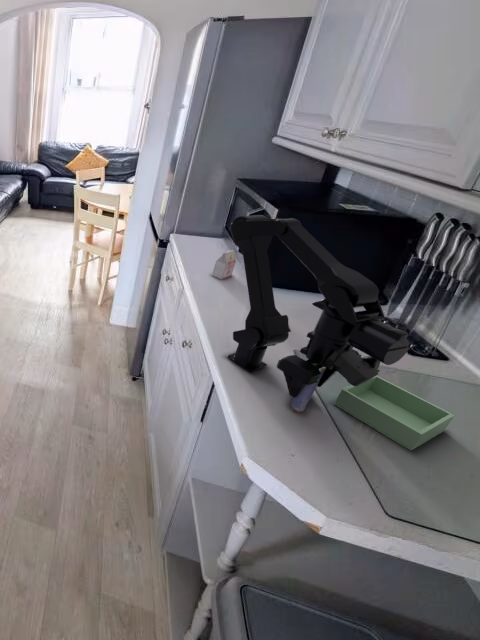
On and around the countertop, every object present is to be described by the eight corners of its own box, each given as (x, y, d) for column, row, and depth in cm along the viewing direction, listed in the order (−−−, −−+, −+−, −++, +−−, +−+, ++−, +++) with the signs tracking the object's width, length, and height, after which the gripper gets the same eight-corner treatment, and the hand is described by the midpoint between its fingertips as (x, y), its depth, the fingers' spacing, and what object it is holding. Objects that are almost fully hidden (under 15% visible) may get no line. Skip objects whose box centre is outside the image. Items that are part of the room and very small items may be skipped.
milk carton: (211, 275, 149) (218, 251, 144) (221, 271, 152) (229, 247, 148) (221, 279, 146) (229, 254, 142) (231, 275, 149) (239, 251, 145)
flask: (301, 415, 86) (320, 376, 82) (285, 407, 88) (302, 369, 84) (313, 396, 91) (330, 359, 87) (297, 389, 94) (314, 352, 89)
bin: (410, 450, 78) (421, 434, 76) (333, 404, 89) (341, 389, 87) (443, 431, 83) (455, 415, 81) (366, 389, 94) (375, 374, 92)
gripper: (352, 368, 72) (320, 430, 79) (406, 346, 79) (372, 404, 85) (287, 335, 82) (263, 392, 88) (341, 317, 88) (315, 372, 94)
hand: (305, 391), depth 89 cm, fingers closed on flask, 9 cm apart
